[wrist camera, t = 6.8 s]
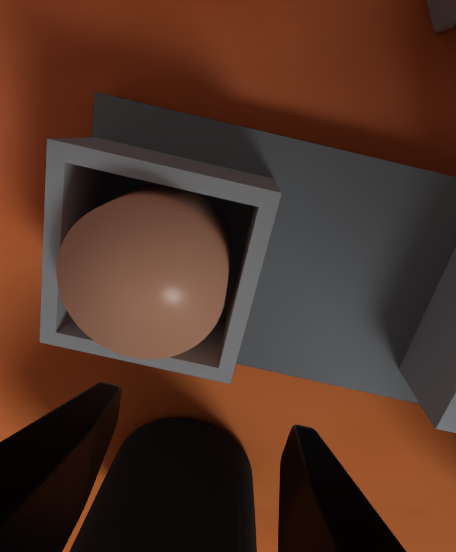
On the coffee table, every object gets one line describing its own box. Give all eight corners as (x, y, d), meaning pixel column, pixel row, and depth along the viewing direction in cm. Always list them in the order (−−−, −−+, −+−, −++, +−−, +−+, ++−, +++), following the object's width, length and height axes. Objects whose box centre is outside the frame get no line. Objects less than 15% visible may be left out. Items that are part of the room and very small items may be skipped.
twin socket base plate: (511, 408, 21) (597, 498, 16) (88, 314, 20) (33, 376, 15) (630, 218, 17) (798, 255, 12) (108, 95, 16) (42, 77, 11)
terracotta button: (217, 321, 17) (207, 373, 13) (96, 294, 17) (52, 340, 13) (245, 200, 15) (243, 223, 11) (108, 169, 15) (60, 181, 11)
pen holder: (98, 410, 23) (-9, 604, 13) (253, 406, 22) (255, 610, 12) (126, 518, 26) (56, 736, 17) (262, 519, 25) (268, 747, 16)
